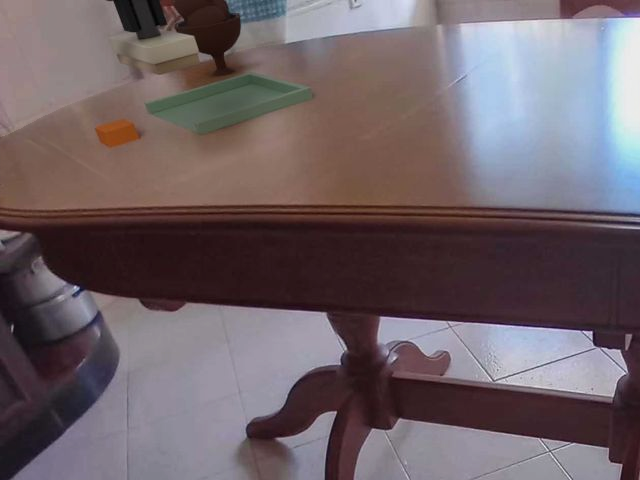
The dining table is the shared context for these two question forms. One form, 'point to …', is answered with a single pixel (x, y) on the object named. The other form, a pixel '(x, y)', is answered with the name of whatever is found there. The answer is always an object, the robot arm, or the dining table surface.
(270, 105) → the tray
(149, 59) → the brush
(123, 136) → the eraser
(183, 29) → the ice cream bowl
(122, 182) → the dining table surface
